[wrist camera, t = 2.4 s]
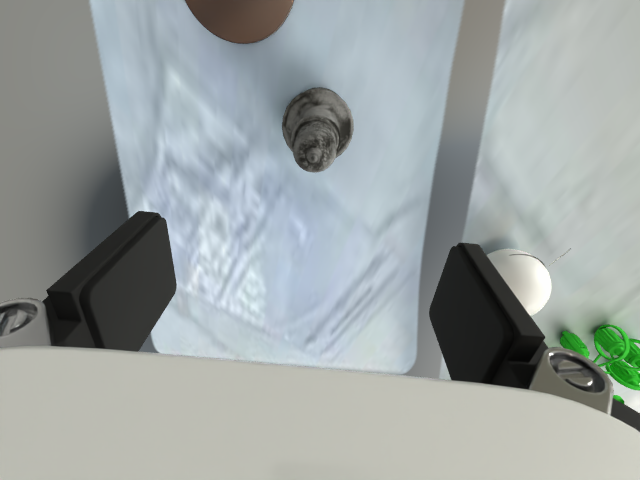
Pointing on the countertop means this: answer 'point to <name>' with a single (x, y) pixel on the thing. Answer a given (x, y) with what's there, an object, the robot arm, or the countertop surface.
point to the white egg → (524, 277)
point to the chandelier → (614, 347)
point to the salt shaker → (317, 128)
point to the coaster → (241, 17)
